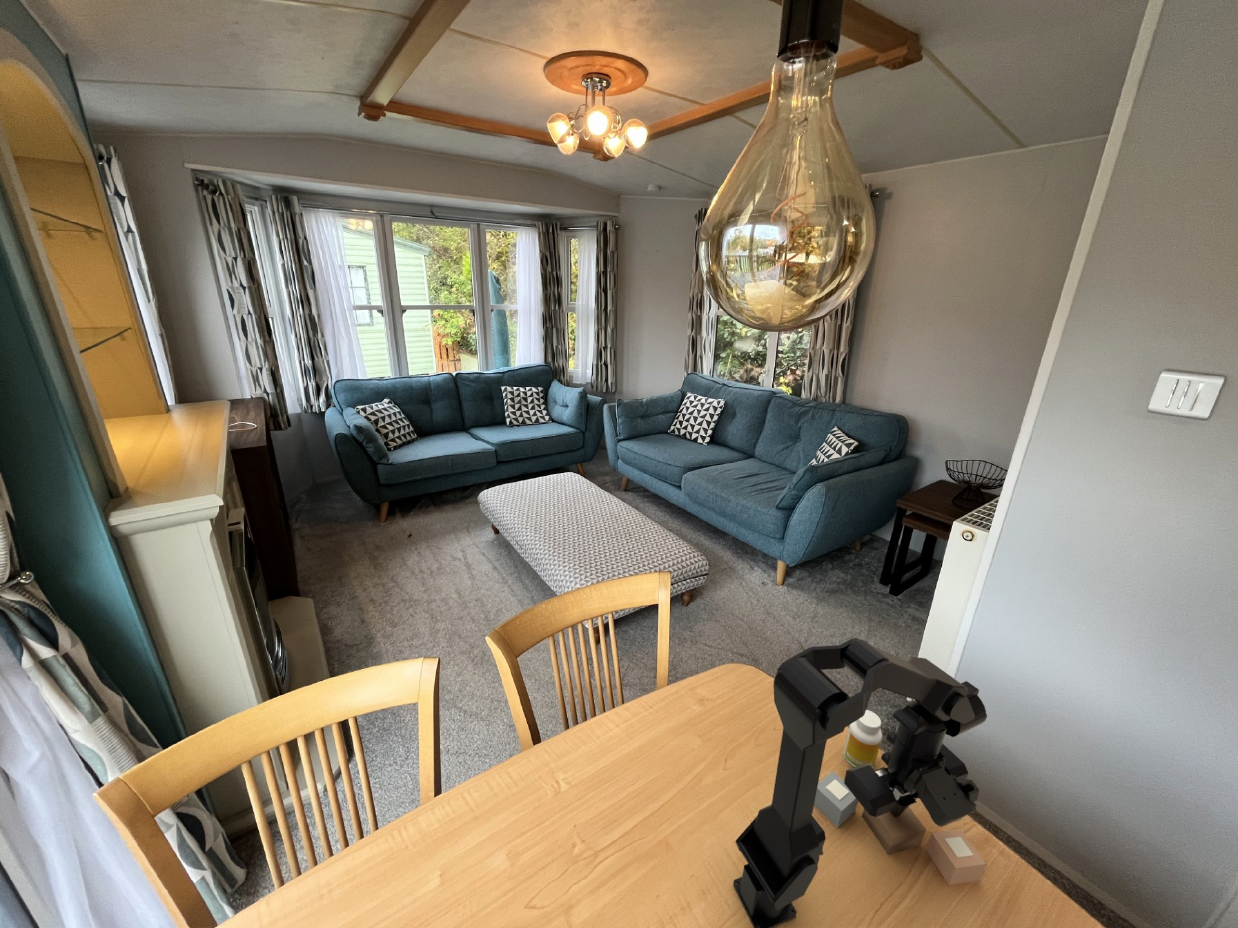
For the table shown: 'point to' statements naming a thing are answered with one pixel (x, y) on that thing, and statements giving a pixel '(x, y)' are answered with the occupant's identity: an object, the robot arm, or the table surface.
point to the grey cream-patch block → (835, 799)
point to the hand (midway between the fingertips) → (894, 813)
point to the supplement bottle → (863, 740)
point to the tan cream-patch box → (955, 857)
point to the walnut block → (896, 830)
